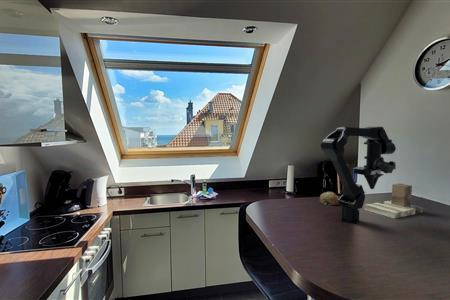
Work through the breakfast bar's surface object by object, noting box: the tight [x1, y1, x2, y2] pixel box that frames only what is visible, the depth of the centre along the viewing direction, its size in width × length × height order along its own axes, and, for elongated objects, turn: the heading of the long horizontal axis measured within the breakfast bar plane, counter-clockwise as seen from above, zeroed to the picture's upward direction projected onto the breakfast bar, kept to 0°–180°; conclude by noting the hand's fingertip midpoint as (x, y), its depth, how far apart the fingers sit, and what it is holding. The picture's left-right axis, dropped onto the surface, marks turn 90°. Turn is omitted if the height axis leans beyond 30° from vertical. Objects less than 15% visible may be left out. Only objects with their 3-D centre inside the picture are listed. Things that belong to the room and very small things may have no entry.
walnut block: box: [390, 183, 413, 207], centre depth 136 cm, size 6×6×10 cm
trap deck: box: [363, 200, 424, 219], centre depth 134 cm, size 22×15×2 cm
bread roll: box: [319, 191, 340, 206], centre depth 148 cm, size 10×10×8 cm
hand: (372, 188), depth 123 cm, fingers closed
